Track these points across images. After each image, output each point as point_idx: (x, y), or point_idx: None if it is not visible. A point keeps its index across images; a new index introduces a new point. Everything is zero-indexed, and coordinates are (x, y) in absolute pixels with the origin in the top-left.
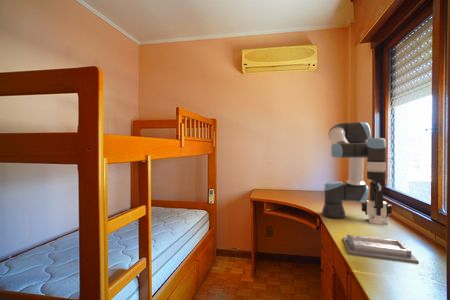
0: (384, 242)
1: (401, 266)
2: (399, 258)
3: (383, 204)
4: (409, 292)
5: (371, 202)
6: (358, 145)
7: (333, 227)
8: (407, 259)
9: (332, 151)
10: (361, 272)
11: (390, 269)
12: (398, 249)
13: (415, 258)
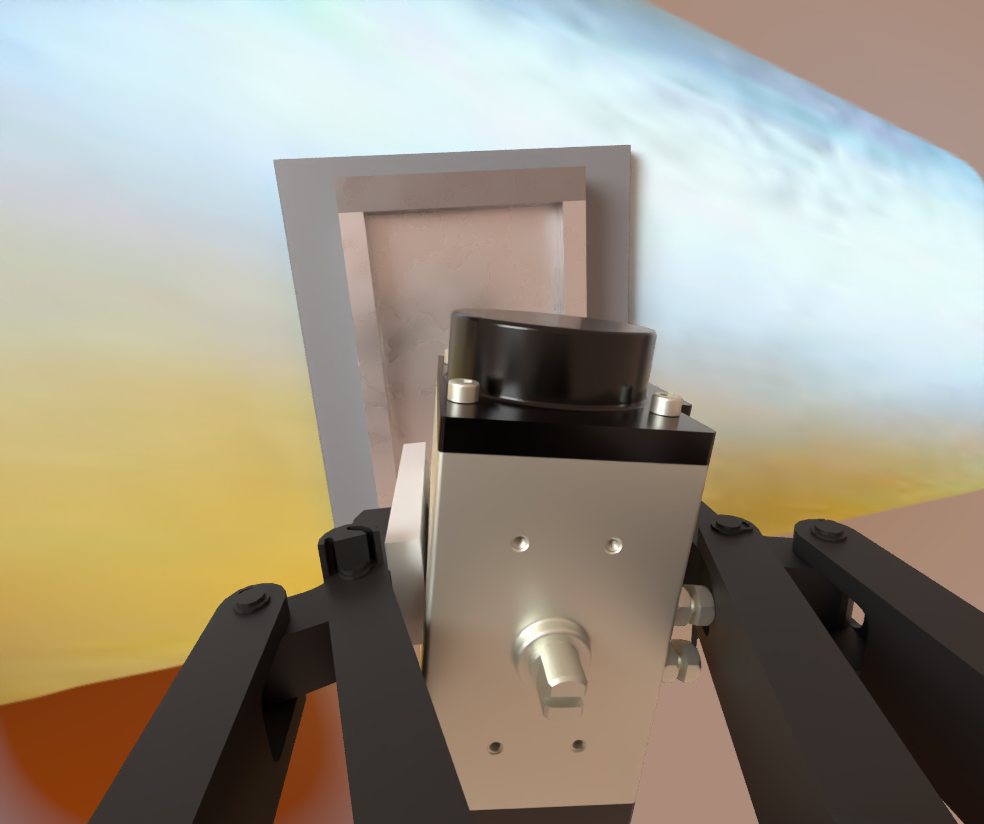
0: (379, 321)
1: (705, 280)
2: (628, 270)
3: (686, 510)
4: (980, 317)
5: (649, 726)
6: None
7: (72, 657)
8: (629, 219)
9: None
10: (833, 497)
11: (764, 353)
12: (583, 261)
13: (590, 152)
